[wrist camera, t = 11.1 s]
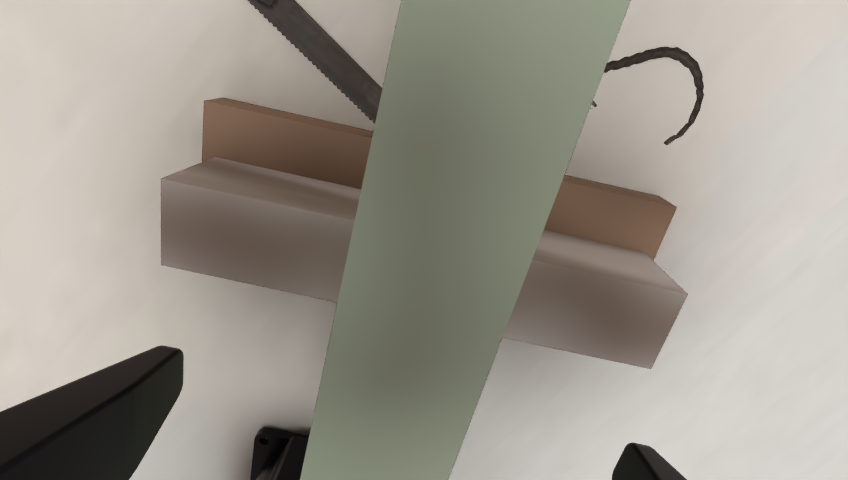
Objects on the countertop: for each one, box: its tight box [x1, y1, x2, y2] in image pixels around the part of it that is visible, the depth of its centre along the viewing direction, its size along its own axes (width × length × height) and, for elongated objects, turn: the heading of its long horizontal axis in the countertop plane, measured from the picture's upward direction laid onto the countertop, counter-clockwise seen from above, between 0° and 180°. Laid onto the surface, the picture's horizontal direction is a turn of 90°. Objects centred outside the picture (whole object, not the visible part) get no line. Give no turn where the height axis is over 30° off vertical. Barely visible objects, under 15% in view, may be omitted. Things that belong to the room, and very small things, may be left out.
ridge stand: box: [161, 98, 688, 369], centre depth 17 cm, size 7×18×5 cm, turn 78°
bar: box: [300, 0, 631, 480], centre depth 13 cm, size 18×4×4 cm, turn 166°
